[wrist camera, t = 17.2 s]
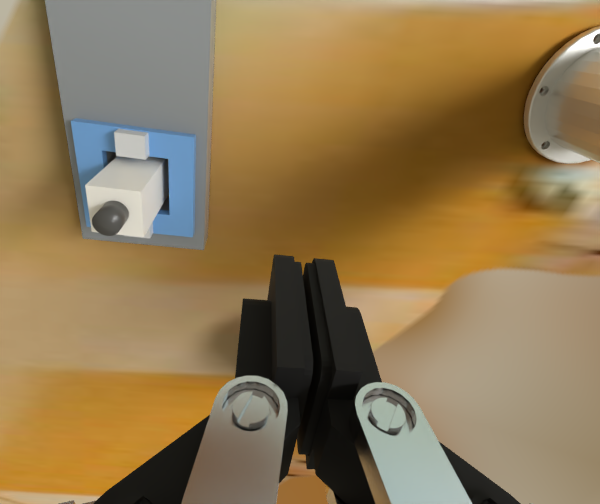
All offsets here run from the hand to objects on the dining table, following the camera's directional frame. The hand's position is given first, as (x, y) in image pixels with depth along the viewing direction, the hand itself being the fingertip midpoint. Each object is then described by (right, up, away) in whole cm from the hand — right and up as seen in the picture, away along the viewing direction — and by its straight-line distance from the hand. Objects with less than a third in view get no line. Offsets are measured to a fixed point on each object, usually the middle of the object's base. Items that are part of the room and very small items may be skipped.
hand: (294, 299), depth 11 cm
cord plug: (-15, +10, +27) cm, 32 cm away
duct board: (-14, +18, +22) cm, 32 cm away
